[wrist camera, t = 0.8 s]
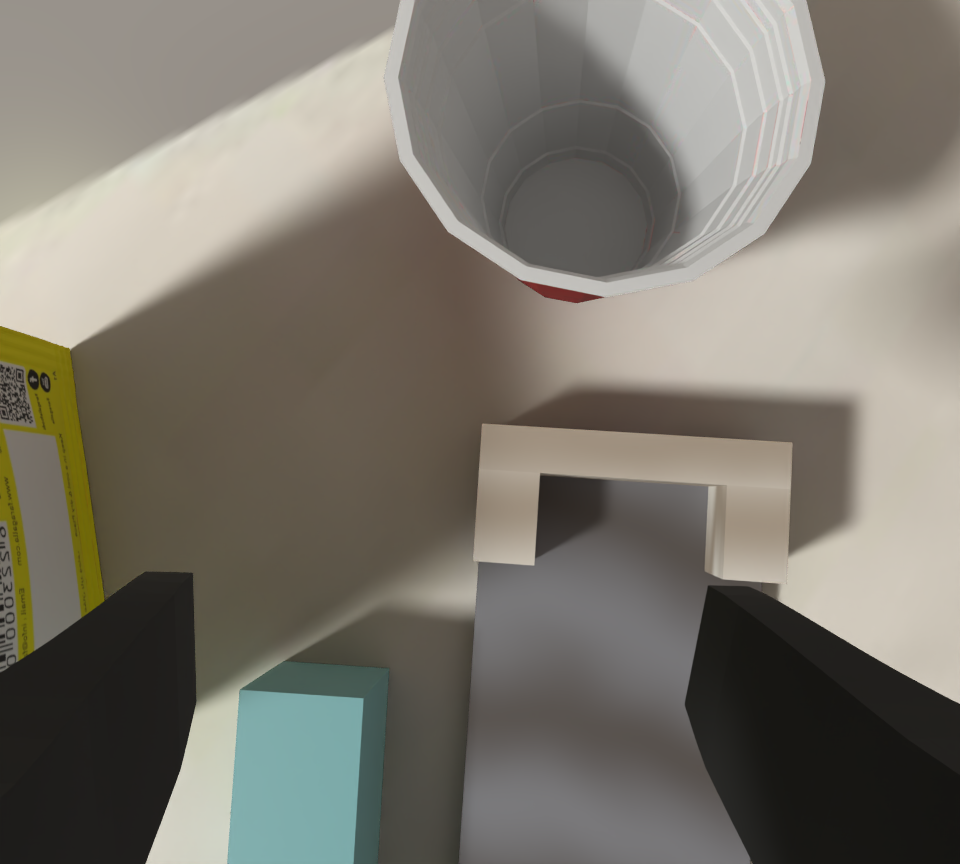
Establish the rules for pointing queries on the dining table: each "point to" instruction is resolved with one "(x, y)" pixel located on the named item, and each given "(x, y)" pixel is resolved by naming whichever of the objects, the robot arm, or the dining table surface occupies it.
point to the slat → (309, 766)
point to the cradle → (605, 638)
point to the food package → (42, 499)
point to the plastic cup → (605, 131)
